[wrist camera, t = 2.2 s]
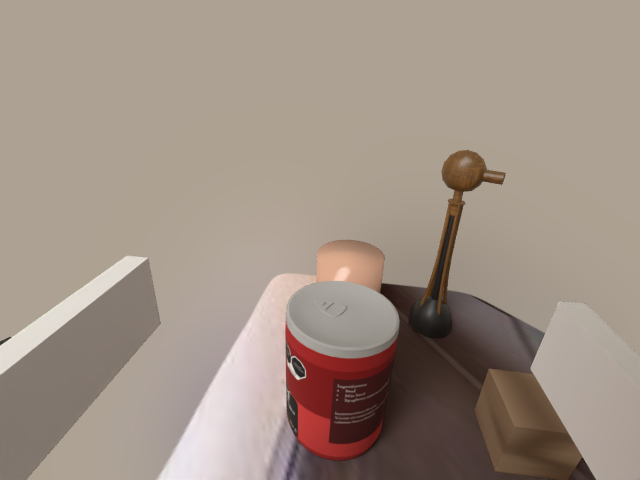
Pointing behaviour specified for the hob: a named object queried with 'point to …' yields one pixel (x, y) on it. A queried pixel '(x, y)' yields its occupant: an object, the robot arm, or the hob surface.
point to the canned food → (338, 366)
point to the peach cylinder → (351, 263)
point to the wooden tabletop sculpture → (449, 242)
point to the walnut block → (524, 427)
